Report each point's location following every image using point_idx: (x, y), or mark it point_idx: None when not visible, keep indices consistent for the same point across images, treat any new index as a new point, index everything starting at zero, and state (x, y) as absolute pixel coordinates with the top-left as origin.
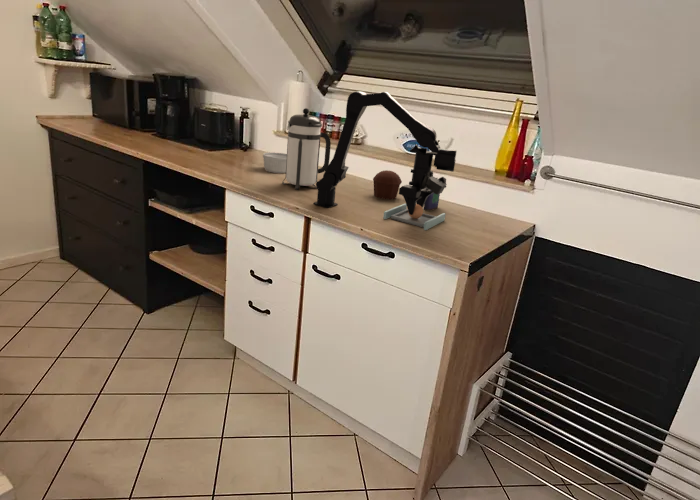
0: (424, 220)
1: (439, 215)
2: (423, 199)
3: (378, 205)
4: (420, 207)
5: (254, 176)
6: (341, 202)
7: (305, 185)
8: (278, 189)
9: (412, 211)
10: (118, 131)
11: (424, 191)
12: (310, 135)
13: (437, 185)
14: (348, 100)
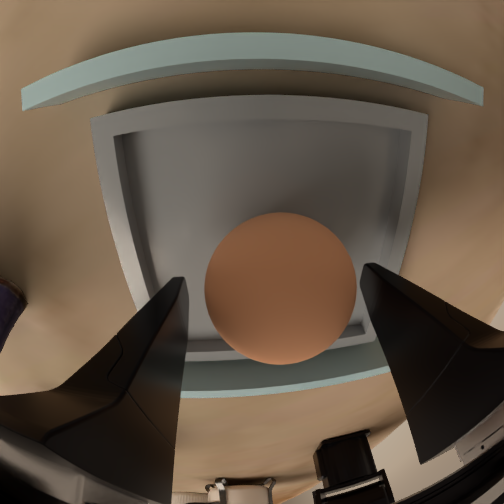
0: (253, 167)
1: (138, 62)
2: (146, 377)
3: (199, 421)
4: (310, 281)
5: None
6: (283, 449)
7: (254, 485)
8: (296, 478)
9: (398, 280)
10: None
11: (122, 488)
12: None
13: None
14: None
